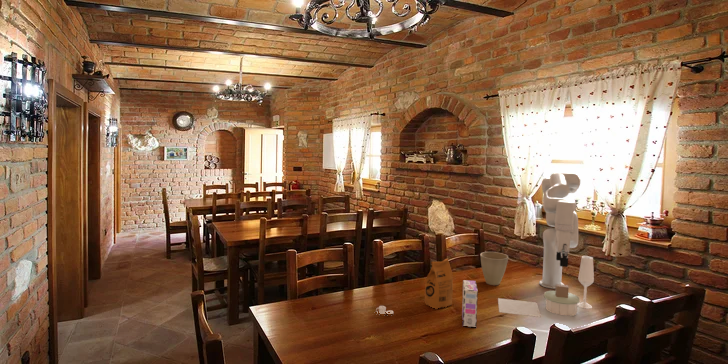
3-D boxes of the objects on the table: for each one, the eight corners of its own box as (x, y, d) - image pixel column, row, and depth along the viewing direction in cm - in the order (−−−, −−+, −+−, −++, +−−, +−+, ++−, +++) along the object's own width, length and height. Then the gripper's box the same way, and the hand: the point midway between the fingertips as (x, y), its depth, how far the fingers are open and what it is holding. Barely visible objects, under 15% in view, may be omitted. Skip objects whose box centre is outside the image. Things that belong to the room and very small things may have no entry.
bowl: (544, 304, 207) (544, 292, 206) (573, 307, 203) (574, 295, 203) (547, 314, 194) (548, 301, 194) (578, 317, 191) (579, 305, 190)
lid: (542, 291, 208) (542, 279, 207) (575, 294, 203) (576, 282, 203) (546, 302, 193) (547, 289, 193) (582, 306, 189) (583, 293, 189)
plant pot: (475, 284, 235) (476, 255, 233) (484, 277, 247) (485, 250, 246) (502, 289, 226) (503, 260, 225) (510, 282, 239) (511, 254, 237)
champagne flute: (594, 309, 201) (597, 259, 199) (578, 307, 203) (581, 258, 200) (589, 303, 208) (592, 255, 205) (574, 302, 209) (577, 255, 207)
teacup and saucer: (394, 313, 194) (394, 305, 194) (390, 320, 187) (390, 311, 186) (376, 311, 197) (376, 302, 197) (371, 317, 190) (371, 309, 189)
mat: (498, 299, 212) (498, 298, 212) (536, 303, 207) (536, 302, 207) (499, 313, 195) (499, 312, 195) (541, 318, 190) (541, 316, 190)
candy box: (476, 328, 179) (478, 290, 177) (462, 327, 180) (463, 289, 178) (474, 315, 192) (476, 280, 191) (461, 314, 193) (462, 279, 192)
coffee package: (421, 303, 206) (422, 259, 204) (441, 299, 212) (442, 256, 210) (434, 310, 197) (436, 264, 195) (454, 305, 204) (456, 261, 201)
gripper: (552, 223, 205) (550, 257, 207) (558, 230, 189) (556, 268, 190) (569, 224, 203) (566, 258, 205) (576, 231, 187) (574, 269, 189)
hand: (561, 263), depth 198 cm, fingers open, 9 cm apart
